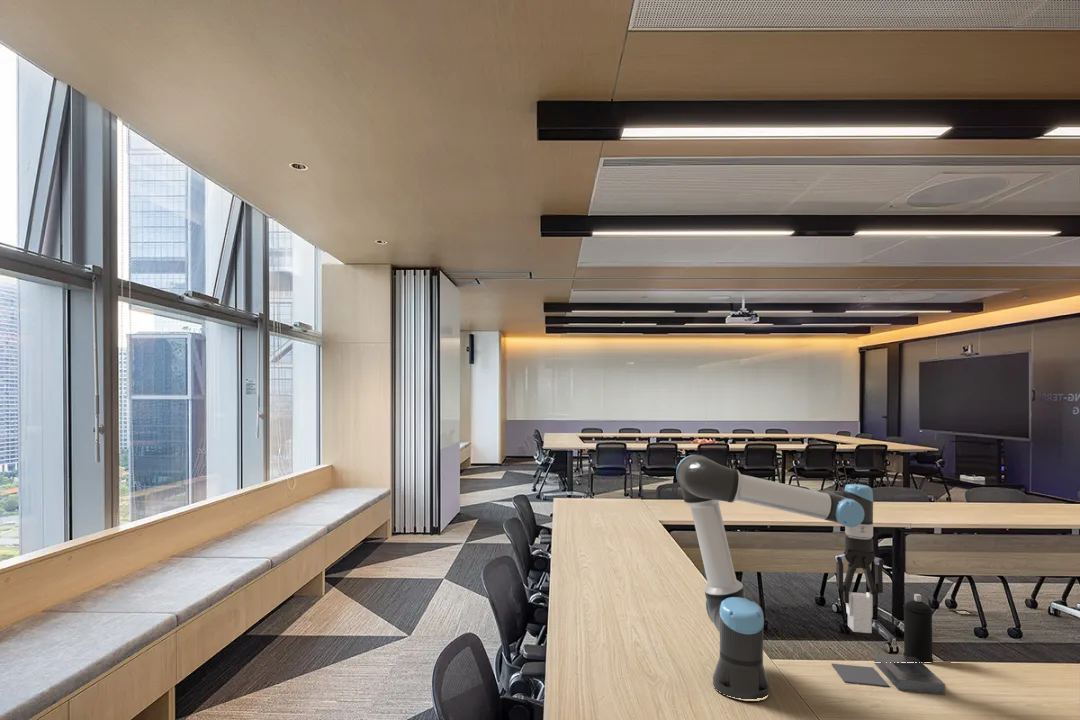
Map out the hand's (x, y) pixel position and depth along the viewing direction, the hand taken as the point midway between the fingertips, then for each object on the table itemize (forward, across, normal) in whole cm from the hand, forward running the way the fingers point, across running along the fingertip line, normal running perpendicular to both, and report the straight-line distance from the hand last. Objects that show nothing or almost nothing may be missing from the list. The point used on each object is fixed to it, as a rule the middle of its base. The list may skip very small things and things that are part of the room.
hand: (859, 614), depth 181 cm
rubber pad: (+18, 0, 0) cm, 18 cm away
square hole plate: (+18, +14, +2) cm, 23 cm away
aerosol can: (+18, +24, +18) cm, 35 cm away
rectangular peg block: (+4, 0, 0) cm, 4 cm away
